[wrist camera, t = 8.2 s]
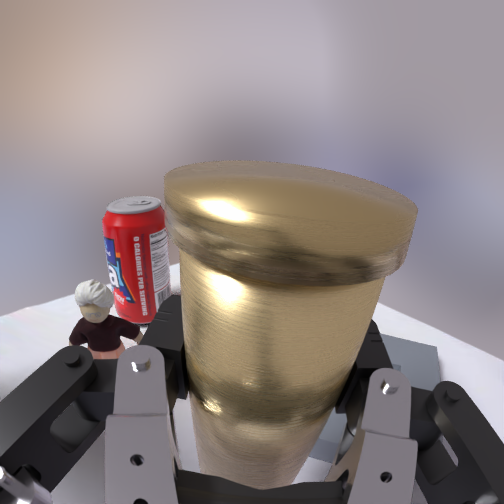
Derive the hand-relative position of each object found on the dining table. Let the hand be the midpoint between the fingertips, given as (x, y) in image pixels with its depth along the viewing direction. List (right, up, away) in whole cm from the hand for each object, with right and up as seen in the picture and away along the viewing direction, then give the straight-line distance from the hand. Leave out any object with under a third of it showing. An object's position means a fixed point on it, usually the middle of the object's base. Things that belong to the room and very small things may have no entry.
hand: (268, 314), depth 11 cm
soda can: (-15, -6, +27) cm, 32 cm away
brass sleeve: (-1, -8, +1) cm, 8 cm away
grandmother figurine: (-14, -12, +14) cm, 23 cm away
